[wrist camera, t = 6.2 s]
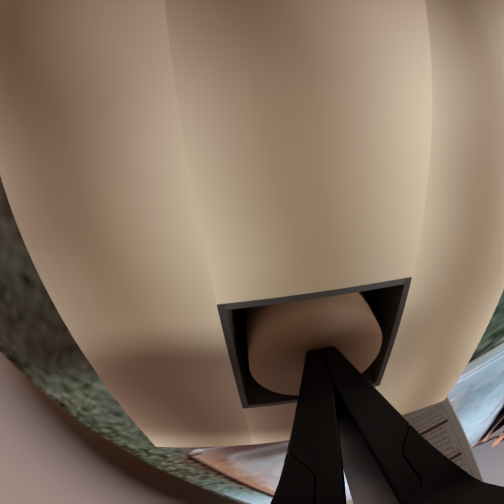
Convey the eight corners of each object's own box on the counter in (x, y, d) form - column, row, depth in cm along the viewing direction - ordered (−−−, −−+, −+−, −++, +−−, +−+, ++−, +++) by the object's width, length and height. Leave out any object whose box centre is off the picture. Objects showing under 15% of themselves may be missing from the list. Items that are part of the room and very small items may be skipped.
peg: (343, 220, 11) (393, 296, 7) (338, 301, 13) (370, 382, 10) (236, 232, 11) (240, 319, 7) (248, 313, 13) (255, 402, 10)
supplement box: (439, 391, 21) (487, 510, 10) (364, 429, 23) (396, 551, 12) (429, 354, 18) (498, 512, 7) (335, 403, 19) (372, 565, 9)
